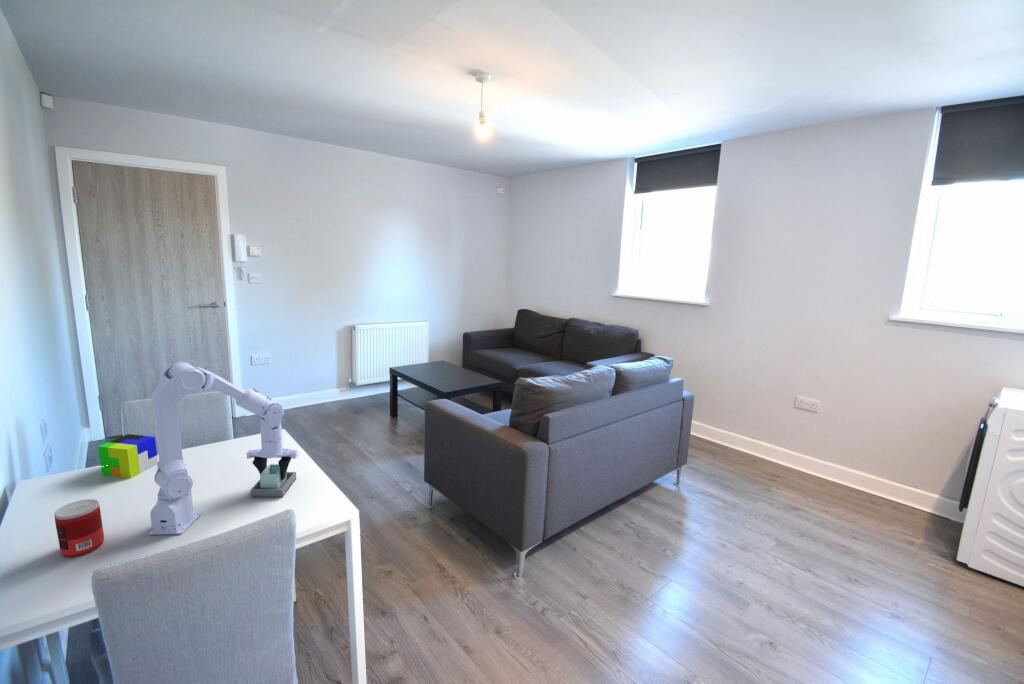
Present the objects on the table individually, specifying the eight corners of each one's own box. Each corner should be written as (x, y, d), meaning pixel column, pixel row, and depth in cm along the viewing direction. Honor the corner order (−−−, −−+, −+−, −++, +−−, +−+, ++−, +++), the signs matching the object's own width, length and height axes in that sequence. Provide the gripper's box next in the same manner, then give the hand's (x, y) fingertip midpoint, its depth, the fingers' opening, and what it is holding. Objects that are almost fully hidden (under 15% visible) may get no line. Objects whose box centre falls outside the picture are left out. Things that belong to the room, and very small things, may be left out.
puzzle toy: (158, 464, 152) (155, 436, 150) (130, 478, 143) (127, 449, 141) (131, 461, 153) (127, 434, 151) (102, 475, 144) (98, 446, 142)
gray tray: (296, 478, 148) (295, 471, 147) (282, 497, 137) (282, 489, 136) (266, 478, 147) (266, 471, 146) (251, 497, 136) (250, 490, 135)
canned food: (112, 537, 115) (107, 499, 113) (84, 559, 107) (78, 517, 105) (81, 537, 115) (75, 498, 112) (51, 558, 107) (44, 516, 104)
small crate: (286, 478, 145) (285, 463, 144) (277, 489, 138) (276, 474, 137) (270, 478, 144) (269, 463, 143) (260, 489, 138) (259, 474, 137)
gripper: (300, 433, 143) (302, 472, 146) (252, 432, 141) (255, 472, 144) (292, 442, 136) (294, 483, 139) (242, 442, 135) (245, 483, 137)
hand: (274, 478), depth 141 cm, fingers closed on small crate, 5 cm apart
